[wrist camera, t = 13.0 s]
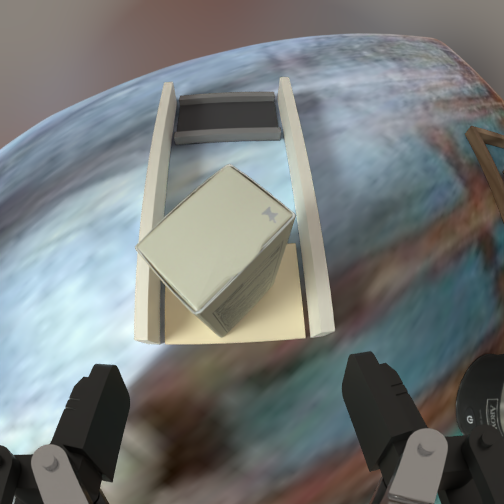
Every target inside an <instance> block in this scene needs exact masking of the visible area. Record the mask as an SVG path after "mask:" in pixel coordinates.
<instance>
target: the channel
mask: <svg viewBox="0 0 504 504" xmlns="http://www.w3.org/2000/svg"><path fill="white" fill-rule="evenodd" d="M277 100H278V106H279V111H280V117H281V122H282V128H283V133H284V139H285V145H286V151H287V157H288V163H289V169H290V176H291V182H292V189H293V195H294V202H295V209H296V216H297V223H298V231H299V238H300V246H301V254H302V262H303V270H304V279H305V288H306V297H307V306H308V316H309V326H310V336H311V338H312V337H322V336H325V335H327V334H329V333H332V332H334V331H335V326H334V317H333V308H332V300H331V292H330V285H329V278H328V270H327V264H326V257H325V250H324V244H323V238H322V231H321V225H320V220H319V214H318V208H317V203H316V197H315V192H314V187H313V181H312V176H311V171H310V166H309V161H308V157H307V152H306V147H305V143H304V138H303V134H302V129H301V125H300V121H299V116H298V112H297V108H296V104H295V100H294V96H293V92H292V88H291V84H290V80H289V77H280V81H279V89H278V98H277ZM176 107H177V101H176V96H175V90H174V85H173V82H166V83H164V86H163V90H162V94H161V99H160V103H159V108H158V113H157V118H156V123H155V128H154V133H153V138H152V144H151V150H150V156H149V162H148V168H147V175H146V182H145V189H144V197H143V205H142V213H141V222H140V232H139V242H140V241H141V240H142V239H143V238H144V237H145V236H146V235H147V234H148V233H149V232H150V231H151V230H152V229H153V228H154V227H155V226H156V225H157V224H158V223H159V222H160V221H161V220H162V219H163V218H164V211H165V199H166V188H167V178H168V168H169V159H170V151H171V143H172V135H173V128H174V121H175V114H176ZM160 290H161V280H160V279H159V277H158V276H157V275H156V274H155V273H154V272H153V270H152V269H151V268H150V267H149V266H148V264H147V263H146V262H145V261H144V259H143V258H142V257H141V256H140V254H139V253H138V256H137V270H136V288H135V319H134V340H136V341H139V342H143V343H146V344H160Z"/></svg>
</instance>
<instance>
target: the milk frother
mask: <svg viewBox="0 0 504 504" xmlns="http://www.w3.org/2000/svg"><path fill="white" fill-rule="evenodd" d="M456 418H457V423H458V426H459V429H460V430H461V432H462V433H463V435H469V434H470V433H471V431H472V430H473V429H474V428H475V427H477V426H479V425H482V424H488V425H491V426H493V427H495V428H496V429H497V430H498V431H499V432H500V433H501V435H502V437H503V439H504V354H500V355H495V354H486V355H483V356H481V357H480V358H478V359H477V360H476V361H474V362H473V363H472V365H471V366H470V367H469V368H468V370H467V372H466V373H465V375H464V377H463V379H462V381H461V384H460V387H459V390H458V394H457V399H456Z"/></svg>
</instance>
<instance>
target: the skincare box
mask: <svg viewBox="0 0 504 504" xmlns="http://www.w3.org/2000/svg"><path fill="white" fill-rule="evenodd" d="M294 220H295V213H293V212H292V211H291V210H290V209H289V208H287V207H286V206H285V205H284V204H283V203H281V202H280V201H279V200H278V199H276V198H275V197H274V196H273V195H272V194H270V193H269V192H268V191H267V190H265V189H264V188H263V187H261V186H260V185H259V184H258V183H256V182H255V181H254V180H252V179H251V178H250V177H249V176H247V175H246V174H244V173H243V172H241V171H240V170H238V169H237V168H236V167H234V166H233V165H231V164H228V165H226V166H224V167H223V168H222V169H220V170H219V171H217V172H216V173H215V174H214V175H212V176H211V177H210V178H208V179H207V180H206V181H205V182H204V183H202V184H201V185H200V186H199V187H197V188H196V189H195V190H194V191H193V192H192V193H190V194H189V195H188V196H187V197H186V198H185V199H184V200H183V201H181V202H180V203H179V204H178V205H177V206H176V207H175V208H174V209H173V210H172V211H170V212H169V213H168V214H167V215H166V216H165V217H164V218H163V219H162V220H161V221H160V222H159V223H158V224H157V225H156V226H155V227H154V228H153V229H152V230H151V231H150V232H149V233H148V234H147V235H146V236H145V237H144V238H143V239H142V240H141V241H140V242H139V243H138V244H137V245H136V246H135V249H136V251H137V252H138V253H139V254H140V256H141V257H142V258H143V259H144V261H145V262H146V263H147V264H148V266H149V267H150V268H151V269H152V270H153V272H154V273H155V274H156V275H157V276H158V277H159V279H160V280H161V281H162V282H163V283H164V284H165V285H166V286H167V288H168V289H169V290H170V291H171V292H172V293H173V294H174V295H175V296H176V297H177V298H178V299H179V300H180V301H181V302H182V303H183V304H184V305H185V306H186V307H187V308H188V309H189V310H190V311H191V312H192V313H193V314H194V315H195V316H196V317H197V318H199V319H200V320H201V321H202V322H203V323H204V324H205V325H206V326H208V327H209V328H210V329H211V330H212V331H213V332H214V333H215V334H216V335H218V336H219V337H221V338H222V337H224V336H225V335H226V334H227V333H228V332H229V331H230V330H231V329H232V328H234V327H235V326H236V325H237V323H238V322H239V321H240V320H241V319H242V318H243V317H244V316H245V315H246V314H247V313H248V312H249V311H250V310H251V309H252V308H253V307H254V306H255V305H256V304H257V303H258V302H259V300H260V299H261V298H262V297H263V296H264V295H265V294H266V293H267V291H268V290H269V289H270V288H271V287H272V286H273V284H274V281H275V278H276V275H277V272H278V269H279V266H280V263H281V260H282V257H283V254H284V251H285V248H286V245H287V242H288V239H289V236H290V232H291V229H292V226H293V223H294Z"/></svg>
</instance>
